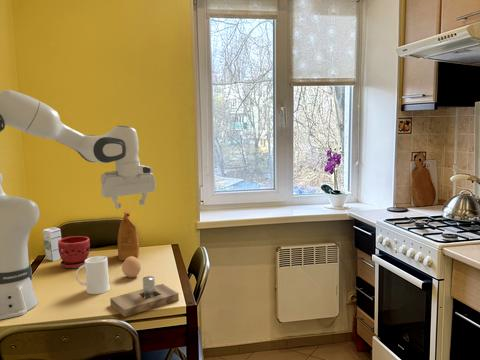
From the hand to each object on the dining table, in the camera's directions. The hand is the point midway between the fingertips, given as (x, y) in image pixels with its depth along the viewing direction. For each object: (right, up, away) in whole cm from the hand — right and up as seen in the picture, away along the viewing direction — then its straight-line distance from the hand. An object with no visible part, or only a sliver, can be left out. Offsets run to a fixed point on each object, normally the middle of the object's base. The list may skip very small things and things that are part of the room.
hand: (130, 206), depth 163 cm
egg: (-3, -30, +14) cm, 33 cm away
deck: (+8, -33, -11) cm, 36 cm away
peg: (+9, -32, -10) cm, 35 cm away
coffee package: (-11, -26, +41) cm, 49 cm away
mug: (-14, -32, +1) cm, 35 cm away
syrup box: (-46, -27, +40) cm, 67 cm away
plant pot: (-32, -28, +31) cm, 53 cm away
